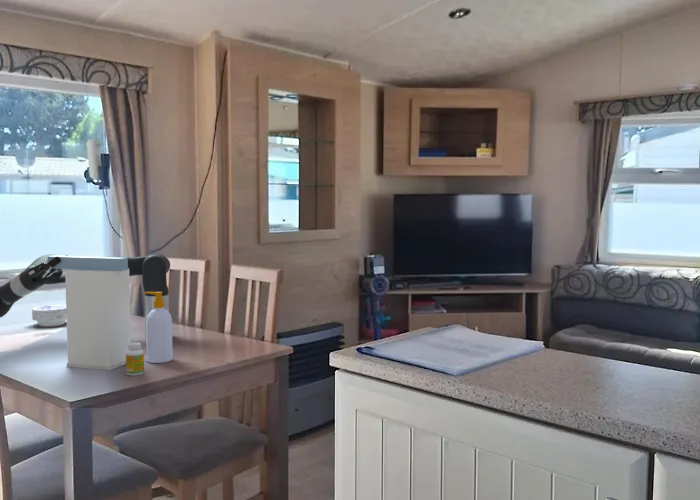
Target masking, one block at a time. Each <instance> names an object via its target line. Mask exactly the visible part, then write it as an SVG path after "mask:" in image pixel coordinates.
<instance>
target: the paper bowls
mask: <svg viewBox="0 0 700 500" xmlns="http://www.w3.org/2000/svg"><path fill="white" fill-rule="evenodd" d="M31 315H32V317H31V318H32V320H33V321H36V322H37V324H38V326H40V327H47V328H48V327H59V326H62V325H64V324H65V323H66V322H67V315H66V304H51V305H41V306H36V307H33V308H32V309H31Z"/></svg>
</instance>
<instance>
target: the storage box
mask: <svg viewBox="0 0 700 500" xmlns="http://www.w3.org/2000/svg"><path fill="white" fill-rule="evenodd" d="M64 272H65V282H66V283H65V305H66V315H67V319H66V337H67V338H66V339H67V342H66V343H67V362H66V367H68V368H81V369H93V370H105V371H106V370H108V371H112V370H114V369H116V368H117V369H118V368H119V367H121V366H123V365H126V352H127V351H128V350H129V349H128V344H129V343H132V336H131V335H132V333H131V332H132V331H131V328H132V326H131V293H130V291H131V290H130V289H131V287H130V286H131V282H130V276H129V268H128V270H124V271H106V270H79V269H65V271H64Z"/></svg>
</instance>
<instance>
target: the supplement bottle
mask: <svg viewBox="0 0 700 500" xmlns="http://www.w3.org/2000/svg"><path fill="white" fill-rule="evenodd" d="M141 348H142V343H141V342H131V343H129V344H128V349H129V350H128V351H127V352H126V364H125V366H126V367H125V372H126V375H128V376H131V377H132V376H141V375H143V374H145V373H144V372H145V360H144V359H145V357H144V350H143V349H141Z"/></svg>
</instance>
